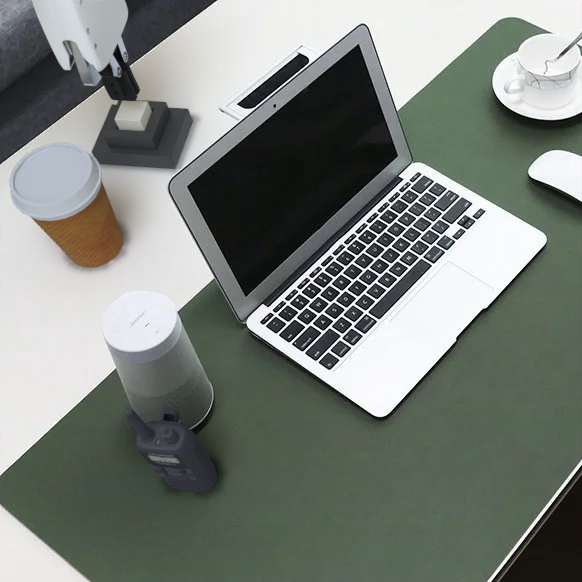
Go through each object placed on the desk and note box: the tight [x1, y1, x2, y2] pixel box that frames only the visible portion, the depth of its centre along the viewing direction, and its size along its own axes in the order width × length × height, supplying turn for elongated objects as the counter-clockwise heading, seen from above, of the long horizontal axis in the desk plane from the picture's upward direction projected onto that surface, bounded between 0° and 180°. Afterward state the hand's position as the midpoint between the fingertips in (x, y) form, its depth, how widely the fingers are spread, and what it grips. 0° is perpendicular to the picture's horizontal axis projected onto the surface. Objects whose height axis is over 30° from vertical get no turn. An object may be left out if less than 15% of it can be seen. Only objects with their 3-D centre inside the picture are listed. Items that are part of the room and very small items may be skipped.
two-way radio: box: [122, 406, 219, 493], centre depth 75 cm, size 6×4×15 cm
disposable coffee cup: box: [8, 141, 124, 269], centre depth 91 cm, size 10×10×12 cm
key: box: [115, 100, 152, 131], centre depth 99 cm, size 3×3×2 cm
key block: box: [91, 99, 194, 170], centre depth 101 cm, size 10×8×4 cm
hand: (126, 95), depth 97 cm, fingers closed
